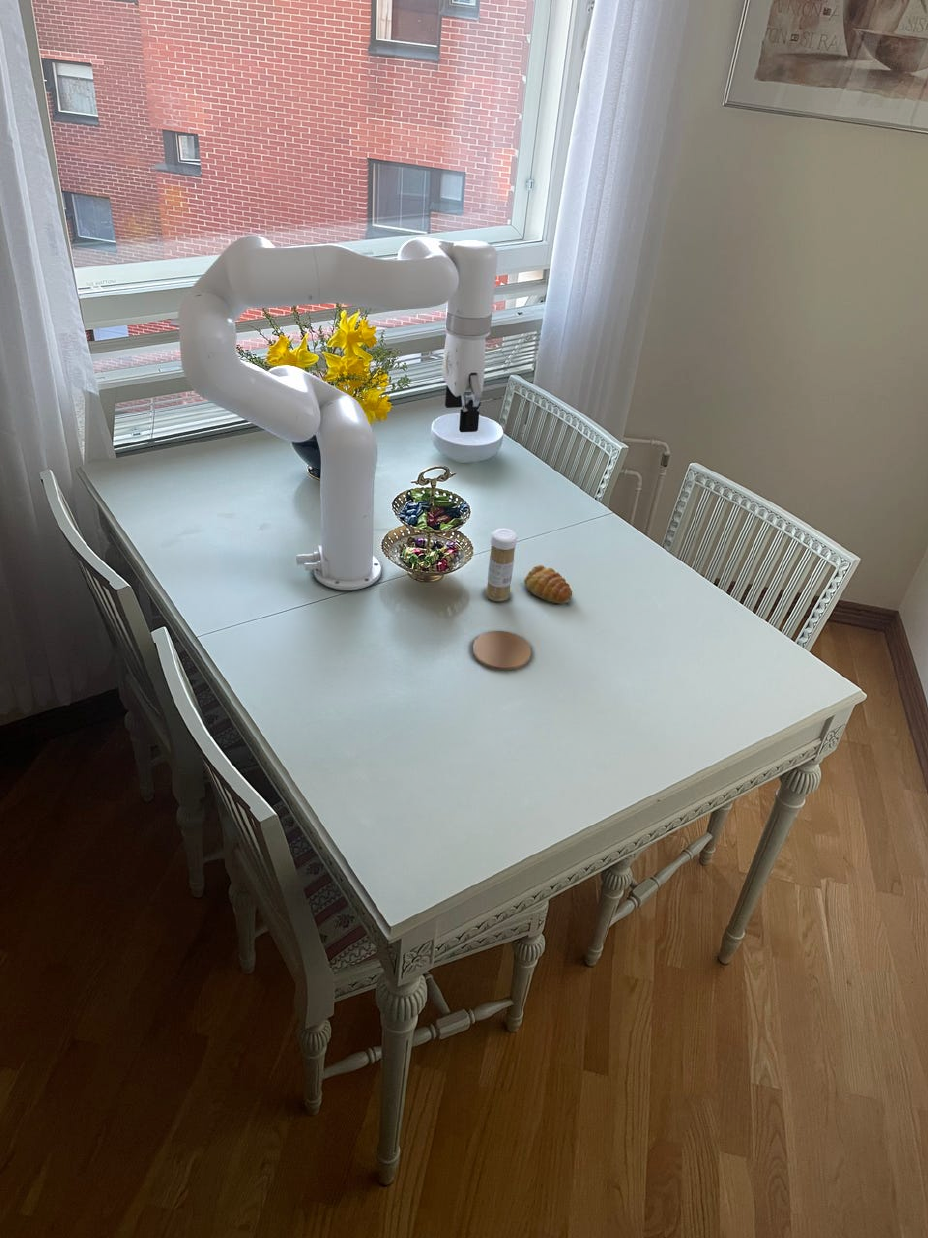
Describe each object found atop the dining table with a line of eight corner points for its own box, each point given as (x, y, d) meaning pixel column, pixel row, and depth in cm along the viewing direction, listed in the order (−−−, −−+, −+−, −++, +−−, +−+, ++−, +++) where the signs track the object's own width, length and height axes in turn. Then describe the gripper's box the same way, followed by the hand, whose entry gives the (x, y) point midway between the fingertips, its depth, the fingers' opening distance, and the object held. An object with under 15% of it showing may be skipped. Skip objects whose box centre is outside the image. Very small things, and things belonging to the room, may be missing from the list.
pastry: (579, 597, 175) (582, 580, 172) (556, 611, 171) (558, 594, 168) (542, 575, 180) (544, 558, 177) (518, 587, 176) (521, 571, 173)
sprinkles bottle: (502, 586, 176) (510, 525, 167) (514, 599, 172) (522, 538, 164) (481, 591, 174) (487, 529, 166) (492, 604, 171) (499, 543, 162)
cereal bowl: (502, 475, 211) (505, 446, 206) (429, 470, 210) (430, 442, 205) (499, 441, 224) (502, 414, 220) (430, 437, 223) (431, 409, 219)
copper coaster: (482, 673, 155) (482, 670, 154) (466, 636, 162) (466, 634, 162) (538, 666, 157) (538, 663, 157) (520, 630, 165) (520, 628, 165)
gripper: (433, 304, 158) (428, 399, 168) (460, 342, 145) (452, 442, 155) (475, 303, 160) (468, 397, 170) (505, 341, 146) (495, 440, 157)
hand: (460, 418), depth 162 cm, fingers open, 9 cm apart
